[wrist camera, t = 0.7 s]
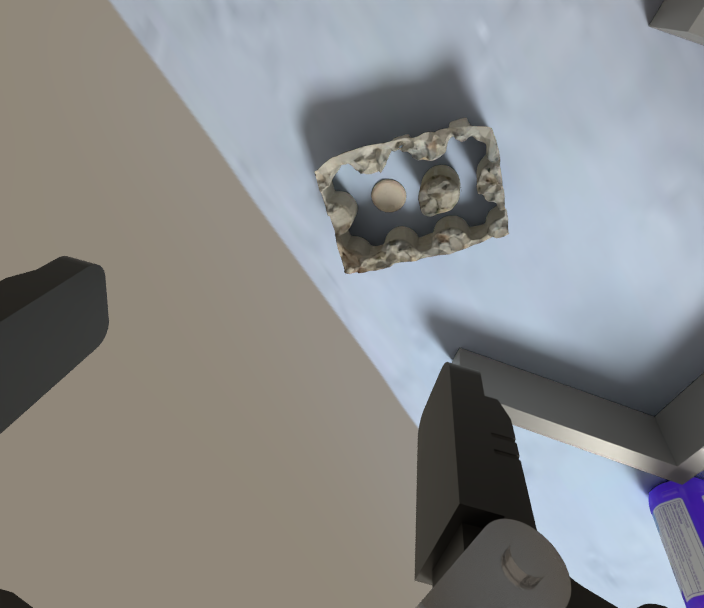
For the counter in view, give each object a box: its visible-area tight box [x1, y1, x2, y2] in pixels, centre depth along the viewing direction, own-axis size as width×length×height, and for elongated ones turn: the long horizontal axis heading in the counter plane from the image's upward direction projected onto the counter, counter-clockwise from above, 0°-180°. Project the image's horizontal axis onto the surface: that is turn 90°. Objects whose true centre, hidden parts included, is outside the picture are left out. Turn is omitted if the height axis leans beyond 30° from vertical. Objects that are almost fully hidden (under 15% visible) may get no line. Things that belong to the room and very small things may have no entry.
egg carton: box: [315, 118, 509, 274], centre depth 26 cm, size 11×8×4 cm
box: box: [452, 0, 704, 485], centre depth 26 cm, size 25×18×4 cm
